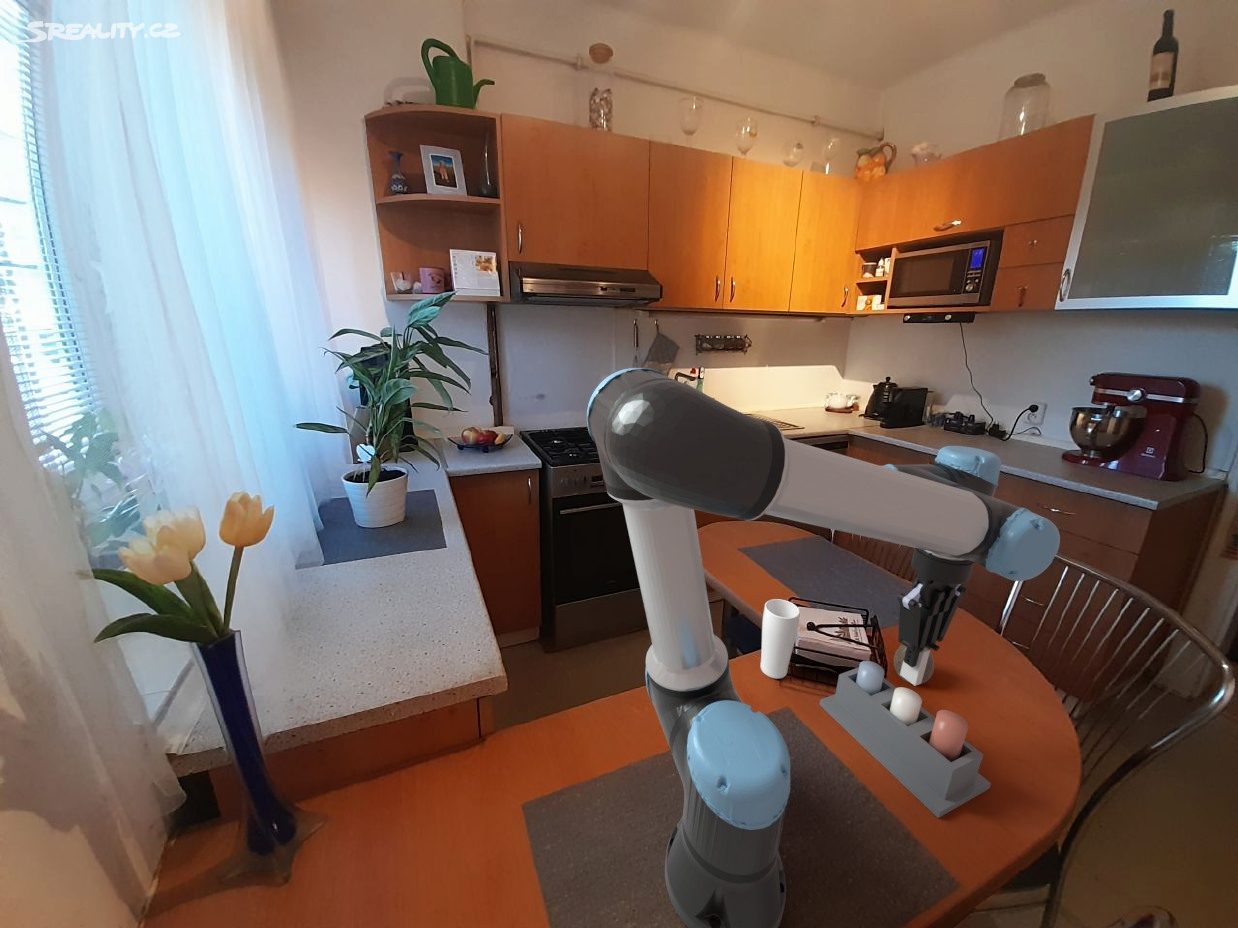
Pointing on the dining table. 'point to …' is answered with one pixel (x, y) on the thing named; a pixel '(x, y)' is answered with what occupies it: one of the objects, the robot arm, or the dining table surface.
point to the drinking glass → (778, 636)
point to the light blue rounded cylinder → (870, 677)
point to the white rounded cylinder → (906, 705)
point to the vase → (899, 661)
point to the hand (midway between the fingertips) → (910, 678)
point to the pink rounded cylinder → (948, 734)
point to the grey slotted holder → (906, 746)
